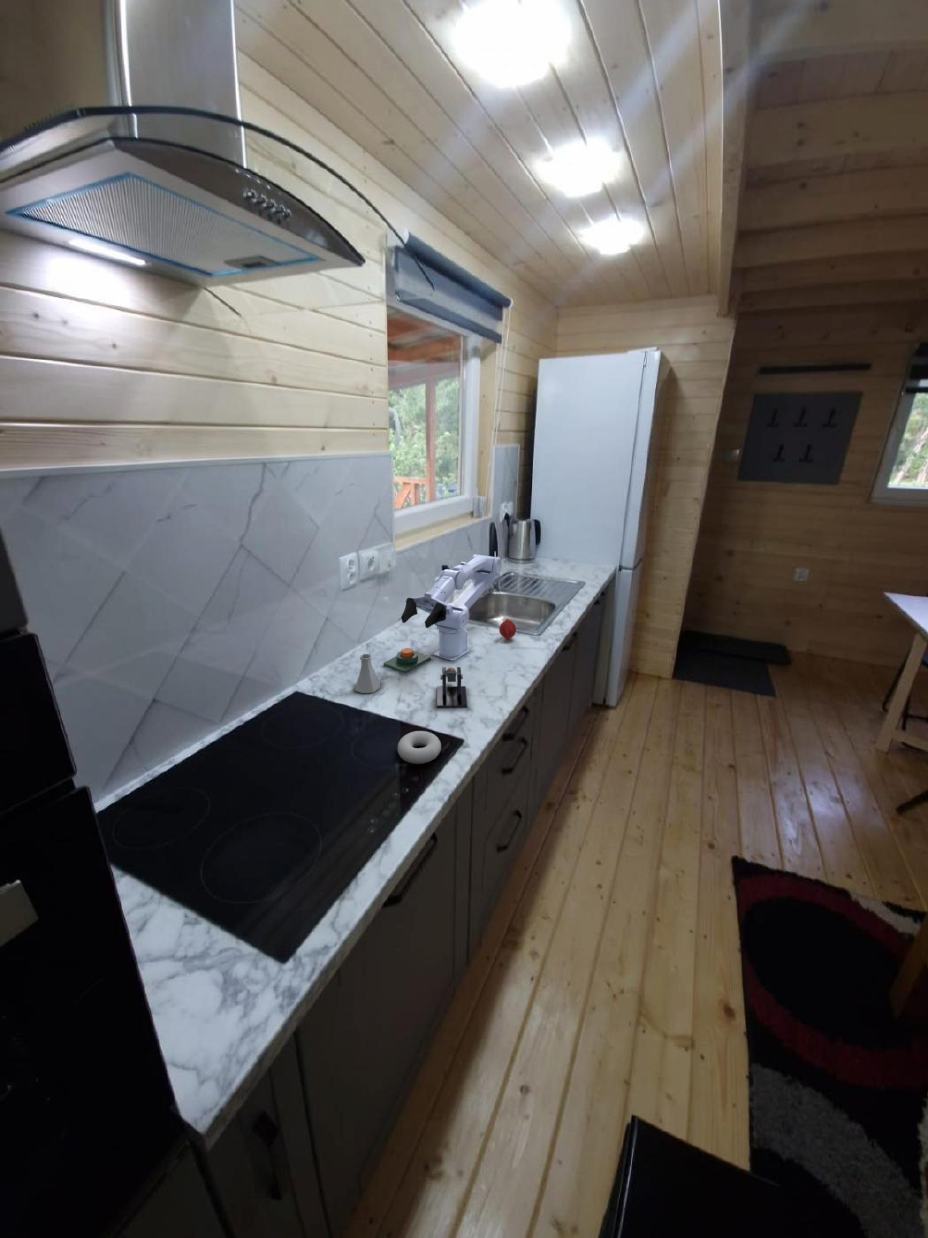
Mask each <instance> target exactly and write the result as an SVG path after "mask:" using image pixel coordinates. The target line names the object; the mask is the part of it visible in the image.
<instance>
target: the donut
mask: <svg viewBox="0 0 928 1238" xmlns="http://www.w3.org/2000/svg"><path fill="white" fill-rule="evenodd" d="M418 746H422V747H419V748H417V747H418ZM441 750H442V743H441V740H440V739H439V737H438V736H437V735H436V734H434V733H432V732H429V731H426V730H415V731H411V732H408V733H407V734H405V735H403V736H402V737H401V738H400V740H399V742H398V743H397V753H398V755H399V757H400V758H401V759H402V760H403V761H405V762H407V763H410V764H415V765H423V764H427V763H429V762H430V763H431V762H432V761H433V760H435V759H436V758H437V757H438V756H439V755H440V753H441Z"/></svg>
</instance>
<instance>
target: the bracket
mask: <svg viewBox="0 0 928 1238" xmlns="http://www.w3.org/2000/svg"><path fill="white" fill-rule="evenodd" d="M446 670H447V667H445V666H443V667H442V668H441V674H440V675H439V677H440V680H442V681H441V683H442V684H441V686H436V709H462V708H463V709H464V708H465V709H466V708H468V700H467V687H466V685H462V680H463V679H464V674H463V673H462V668H461V666H457V667H456V672H457V675H456V685H455V686H454V685H453V686H448V685H447V677H446Z"/></svg>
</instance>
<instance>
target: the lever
mask: <svg viewBox="0 0 928 1238" xmlns="http://www.w3.org/2000/svg"><path fill="white" fill-rule="evenodd" d="M446 680H447V683H457V669H456V668H453V667H448V668H446Z"/></svg>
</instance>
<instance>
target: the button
mask: <svg viewBox="0 0 928 1238" xmlns="http://www.w3.org/2000/svg"><path fill="white" fill-rule="evenodd" d="M400 651H401V656H402V657H404V658H409V657H412V656H413V651H414V650H413V648H410V647H406V648H402V649H401V650H400Z"/></svg>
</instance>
